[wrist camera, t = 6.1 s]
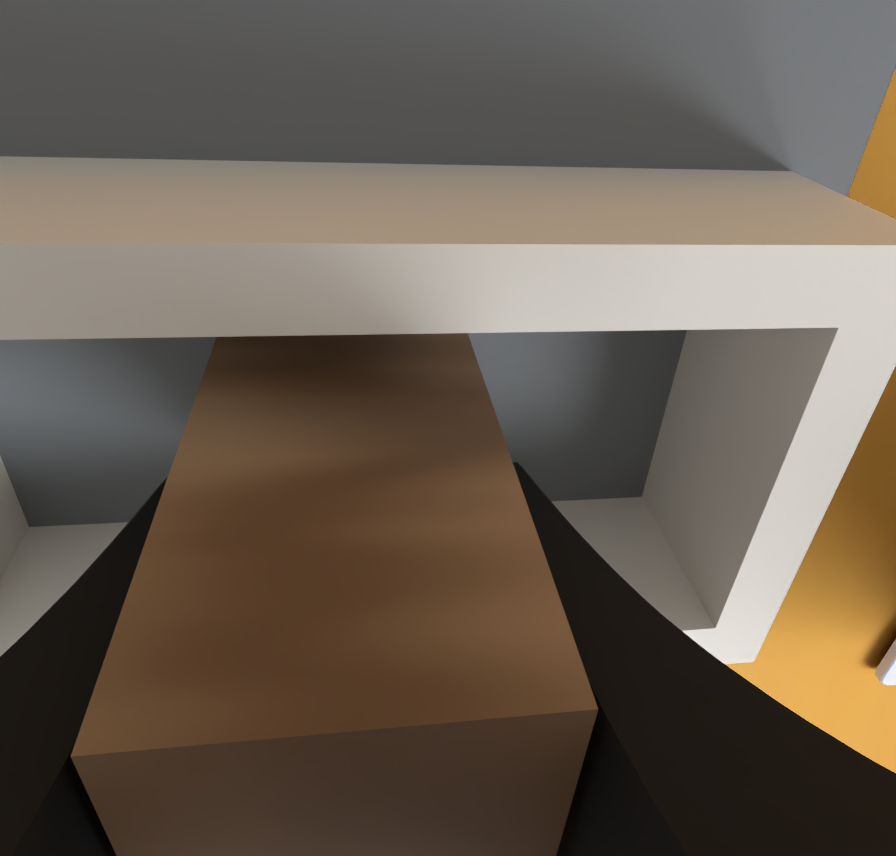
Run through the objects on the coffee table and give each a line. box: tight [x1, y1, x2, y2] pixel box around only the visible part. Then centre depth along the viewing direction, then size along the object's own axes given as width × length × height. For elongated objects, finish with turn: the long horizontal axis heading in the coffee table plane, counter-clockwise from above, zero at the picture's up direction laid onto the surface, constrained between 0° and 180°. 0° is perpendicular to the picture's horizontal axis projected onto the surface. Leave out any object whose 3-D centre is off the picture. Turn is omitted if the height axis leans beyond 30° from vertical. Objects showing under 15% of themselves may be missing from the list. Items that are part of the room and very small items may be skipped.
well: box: [0, 0, 896, 664], centre depth 13 cm, size 19×15×5 cm
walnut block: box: [71, 333, 598, 856], centre depth 9 cm, size 4×4×7 cm
